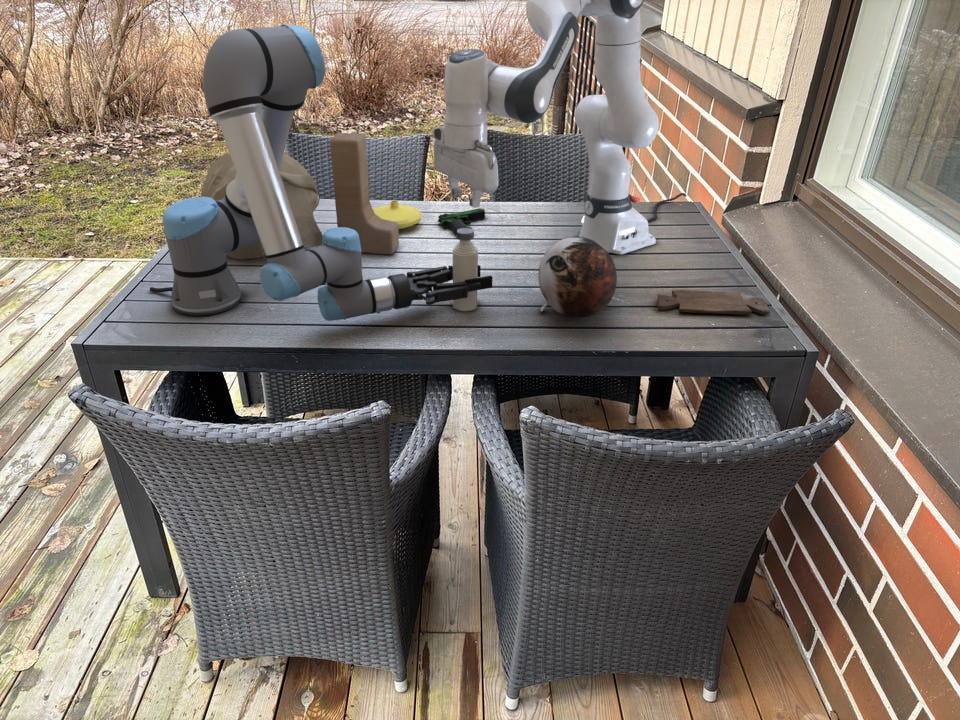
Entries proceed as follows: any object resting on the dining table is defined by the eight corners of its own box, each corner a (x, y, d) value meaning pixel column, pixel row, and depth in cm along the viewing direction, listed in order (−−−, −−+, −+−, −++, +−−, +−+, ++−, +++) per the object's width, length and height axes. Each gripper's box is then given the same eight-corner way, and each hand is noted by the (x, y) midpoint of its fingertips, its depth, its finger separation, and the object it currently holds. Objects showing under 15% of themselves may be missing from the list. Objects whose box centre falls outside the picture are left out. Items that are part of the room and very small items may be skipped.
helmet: (337, 253, 194) (330, 140, 179) (228, 274, 179) (210, 153, 164) (298, 224, 213) (288, 120, 198) (196, 241, 198) (178, 130, 183)
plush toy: (515, 268, 172) (574, 208, 164) (568, 314, 177) (628, 258, 168) (511, 307, 153) (577, 241, 144) (571, 357, 157) (638, 296, 149)
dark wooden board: (652, 295, 173) (658, 314, 165) (653, 289, 172) (659, 307, 164) (760, 298, 172) (772, 317, 163) (761, 291, 171) (774, 310, 162)
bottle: (477, 311, 164) (478, 237, 155) (452, 311, 164) (451, 236, 155) (477, 300, 169) (478, 228, 160) (453, 300, 169) (452, 227, 160)
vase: (376, 214, 219) (375, 191, 216) (426, 217, 218) (426, 194, 214) (362, 232, 206) (360, 208, 202) (415, 235, 204) (415, 212, 201)
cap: (473, 240, 156) (473, 234, 156) (456, 240, 156) (456, 233, 156) (474, 234, 160) (474, 227, 159) (457, 234, 160) (456, 227, 159)
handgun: (453, 229, 202) (431, 211, 213) (453, 239, 203) (431, 221, 214) (503, 222, 208) (480, 205, 219) (502, 231, 210) (479, 214, 221)
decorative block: (393, 255, 191) (387, 142, 176) (339, 251, 193) (328, 139, 178) (399, 245, 198) (394, 134, 183) (347, 241, 200) (337, 132, 184)
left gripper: (378, 291, 166) (469, 275, 174) (405, 326, 151) (503, 307, 160) (376, 261, 162) (469, 246, 171) (403, 294, 148) (504, 276, 156)
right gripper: (507, 145, 141) (504, 213, 148) (453, 124, 156) (453, 187, 163) (480, 149, 138) (479, 218, 145) (428, 127, 152) (429, 191, 160)
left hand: (485, 276), depth 165 cm, fingers closed on bottle, 6 cm apart
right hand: (465, 201), depth 154 cm, fingers open, 6 cm apart
